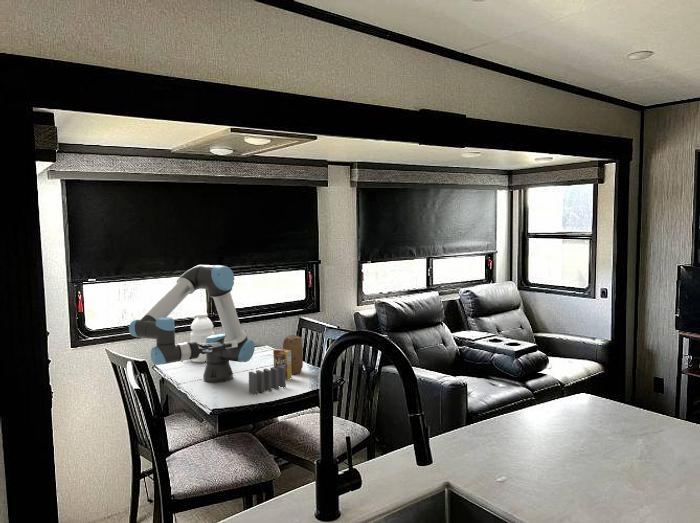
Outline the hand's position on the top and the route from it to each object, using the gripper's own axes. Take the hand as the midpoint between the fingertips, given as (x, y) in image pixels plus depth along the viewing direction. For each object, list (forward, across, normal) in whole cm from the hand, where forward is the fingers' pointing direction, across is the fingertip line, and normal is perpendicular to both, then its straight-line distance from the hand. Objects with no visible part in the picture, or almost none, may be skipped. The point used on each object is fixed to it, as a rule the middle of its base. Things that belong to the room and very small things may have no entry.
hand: (236, 343), depth 254 cm
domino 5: (+25, 0, -25) cm, 35 cm away
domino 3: (+16, 0, -25) cm, 30 cm away
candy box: (+33, -12, -25) cm, 43 cm away
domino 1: (+9, 0, -25) cm, 27 cm away
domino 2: (+13, 0, -25) cm, 28 cm away
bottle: (+17, -76, -25) cm, 82 cm away
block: (+43, -18, -25) cm, 53 cm away
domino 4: (+21, 0, -25) cm, 32 cm away
